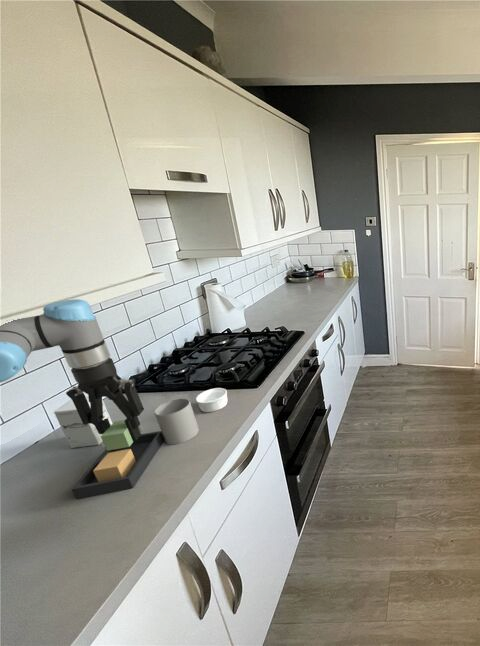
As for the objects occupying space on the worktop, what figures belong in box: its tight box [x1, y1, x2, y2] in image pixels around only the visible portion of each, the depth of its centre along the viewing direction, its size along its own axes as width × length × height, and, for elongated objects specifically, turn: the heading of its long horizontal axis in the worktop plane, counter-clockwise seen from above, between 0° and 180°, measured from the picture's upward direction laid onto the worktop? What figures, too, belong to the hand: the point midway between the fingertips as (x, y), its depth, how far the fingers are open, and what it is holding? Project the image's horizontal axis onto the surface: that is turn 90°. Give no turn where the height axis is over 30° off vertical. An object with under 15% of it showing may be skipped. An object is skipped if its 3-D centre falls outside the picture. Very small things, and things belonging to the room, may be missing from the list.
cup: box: [154, 398, 200, 445], centre depth 102 cm, size 8×8×10 cm
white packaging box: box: [53, 396, 114, 449], centre depth 100 cm, size 7×7×13 cm
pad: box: [101, 419, 142, 451], centre depth 92 cm, size 5×6×4 cm
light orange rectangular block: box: [93, 449, 136, 482], centre depth 88 cm, size 5×6×4 cm
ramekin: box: [195, 387, 229, 413], centre depth 116 cm, size 9×9×4 cm
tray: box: [70, 430, 165, 500], centre depth 91 cm, size 12×19×3 cm, turn 16°
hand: (124, 439), depth 93 cm, fingers closed on pad, 5 cm apart
